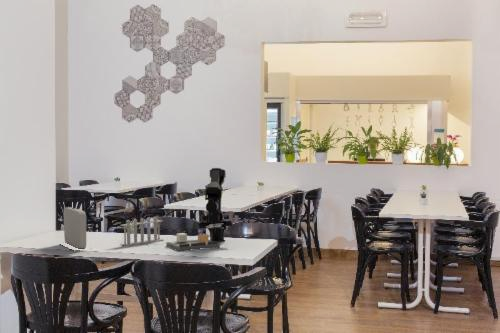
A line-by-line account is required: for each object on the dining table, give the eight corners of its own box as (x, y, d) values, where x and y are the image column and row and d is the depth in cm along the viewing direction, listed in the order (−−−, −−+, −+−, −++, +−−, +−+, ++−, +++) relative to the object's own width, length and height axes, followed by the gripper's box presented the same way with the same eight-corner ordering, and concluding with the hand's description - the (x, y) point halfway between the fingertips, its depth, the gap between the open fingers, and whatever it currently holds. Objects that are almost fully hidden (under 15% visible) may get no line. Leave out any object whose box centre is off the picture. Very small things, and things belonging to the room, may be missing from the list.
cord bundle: (216, 243, 372) (216, 240, 372) (218, 243, 370) (218, 240, 370) (178, 246, 362) (178, 243, 362) (179, 247, 360) (179, 244, 360)
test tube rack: (125, 246, 377) (124, 221, 376) (120, 245, 380) (120, 220, 380) (163, 240, 395) (163, 216, 394) (158, 240, 398) (158, 216, 397)
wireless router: (94, 250, 366) (93, 211, 365) (75, 252, 361) (74, 212, 360) (75, 242, 393) (74, 205, 392) (57, 244, 388) (56, 206, 386)
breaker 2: (205, 241, 374) (204, 234, 374) (208, 242, 370) (208, 235, 370) (197, 242, 372) (197, 234, 372) (201, 243, 368) (201, 235, 368)
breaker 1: (183, 240, 379) (183, 233, 378) (187, 241, 375) (186, 234, 374) (176, 241, 377) (176, 233, 377) (179, 242, 373) (179, 234, 373)
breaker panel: (205, 242, 386) (205, 238, 386) (219, 247, 370) (219, 243, 370) (166, 246, 376) (166, 242, 376) (179, 251, 360) (179, 246, 360)
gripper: (223, 207, 384) (223, 237, 385) (190, 210, 376) (191, 239, 377) (232, 209, 375) (232, 239, 375) (199, 212, 366) (199, 242, 367)
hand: (214, 240), depth 374 cm, fingers closed
